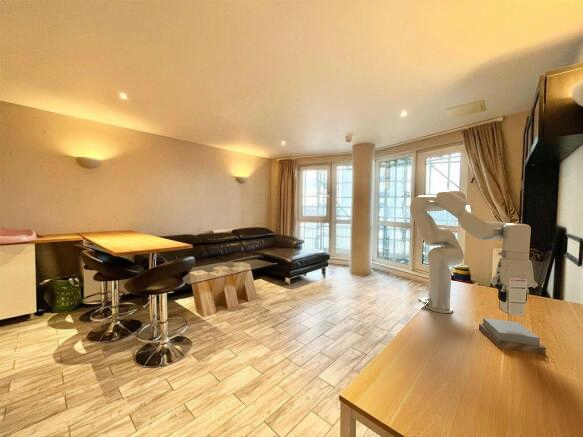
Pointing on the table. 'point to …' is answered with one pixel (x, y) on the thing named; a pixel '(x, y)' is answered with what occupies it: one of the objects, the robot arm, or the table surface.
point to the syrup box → (515, 297)
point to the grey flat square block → (512, 343)
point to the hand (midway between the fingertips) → (511, 301)
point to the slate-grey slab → (511, 331)
